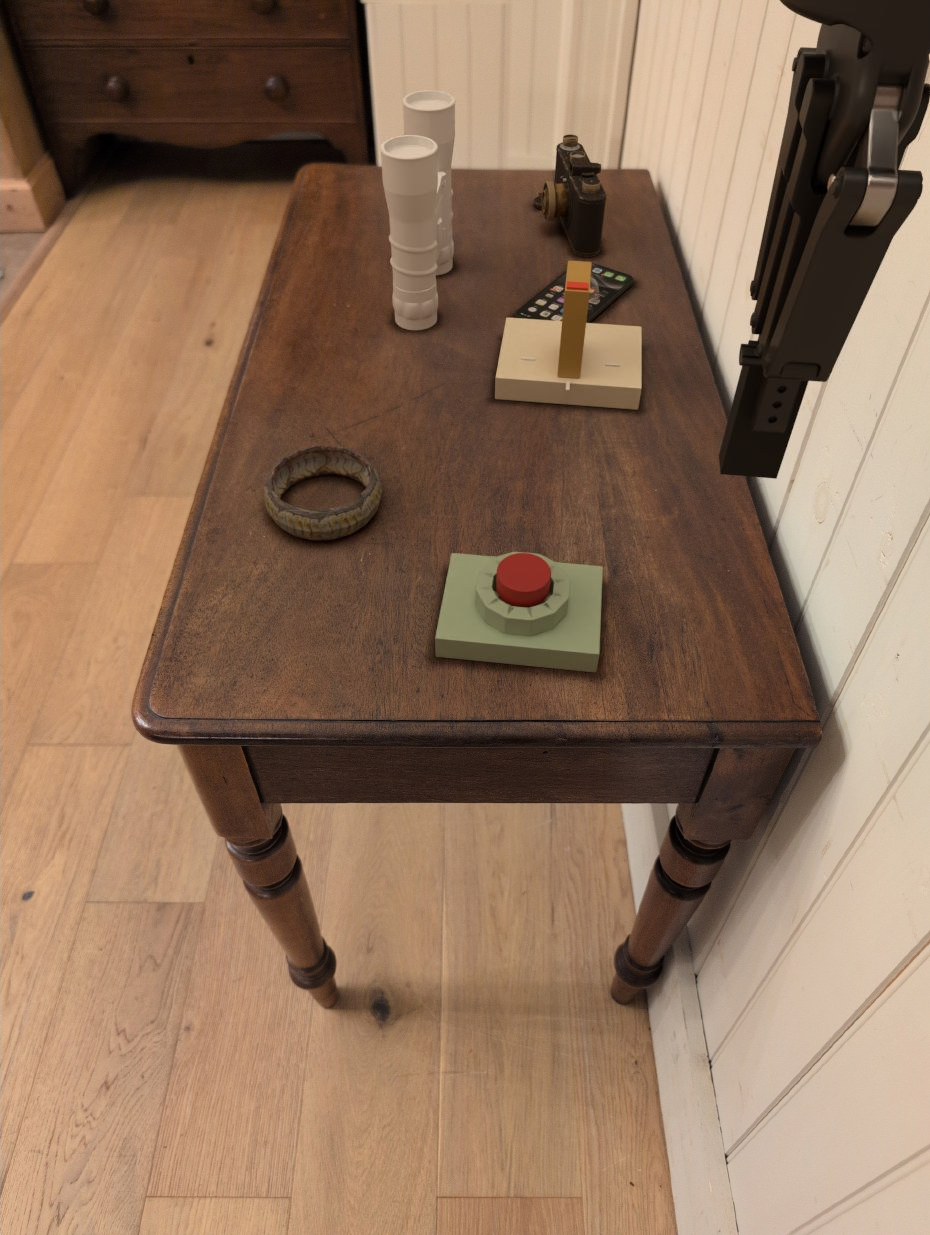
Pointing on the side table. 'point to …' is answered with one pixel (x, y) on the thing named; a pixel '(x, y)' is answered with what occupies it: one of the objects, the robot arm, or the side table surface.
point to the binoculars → (420, 204)
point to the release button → (523, 580)
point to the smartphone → (602, 294)
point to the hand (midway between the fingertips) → (747, 466)
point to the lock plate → (604, 368)
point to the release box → (521, 617)
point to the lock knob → (574, 318)
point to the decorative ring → (318, 464)
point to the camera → (575, 197)
